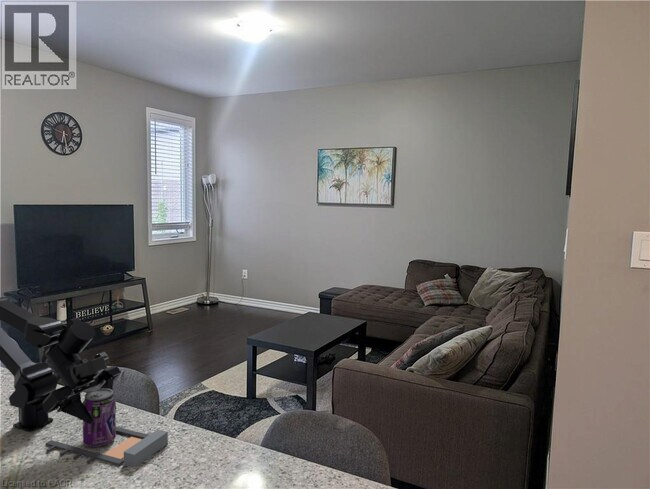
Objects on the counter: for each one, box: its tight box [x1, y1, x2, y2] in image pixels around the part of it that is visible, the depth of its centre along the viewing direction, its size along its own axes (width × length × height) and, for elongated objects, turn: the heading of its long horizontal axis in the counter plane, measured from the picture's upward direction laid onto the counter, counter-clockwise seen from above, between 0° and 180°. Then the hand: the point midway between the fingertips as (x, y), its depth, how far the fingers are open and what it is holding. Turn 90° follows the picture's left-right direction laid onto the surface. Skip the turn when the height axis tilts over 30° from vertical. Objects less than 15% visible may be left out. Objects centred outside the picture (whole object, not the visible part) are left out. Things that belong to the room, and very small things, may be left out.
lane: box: [45, 426, 169, 469], centre depth 109 cm, size 26×14×3 cm, turn 70°
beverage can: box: [82, 388, 117, 448], centre depth 110 cm, size 7×7×12 cm
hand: (103, 416), depth 109 cm, fingers closed on beverage can, 7 cm apart
